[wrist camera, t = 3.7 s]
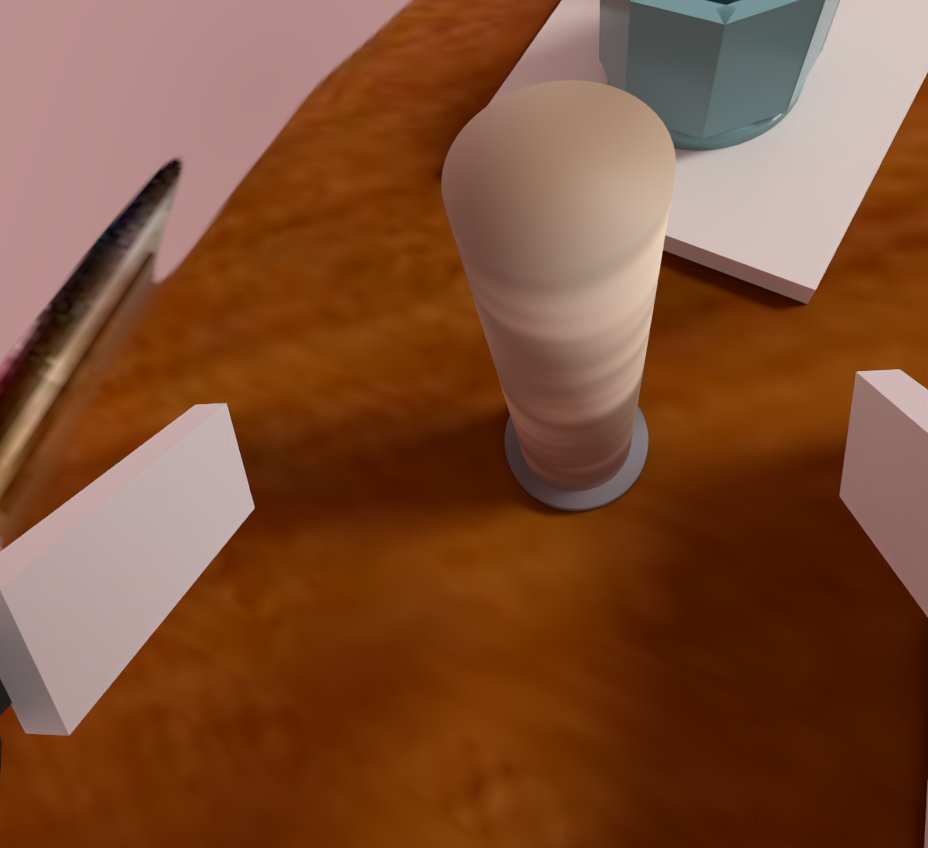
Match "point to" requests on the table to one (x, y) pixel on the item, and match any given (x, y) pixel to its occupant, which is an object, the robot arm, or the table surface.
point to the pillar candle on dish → (565, 275)
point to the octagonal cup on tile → (752, 114)
